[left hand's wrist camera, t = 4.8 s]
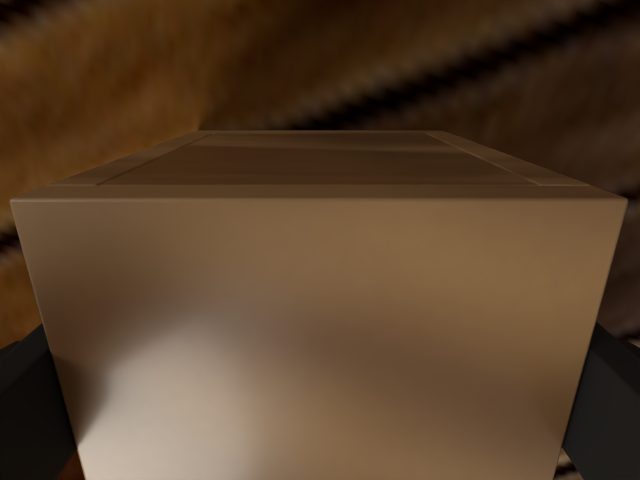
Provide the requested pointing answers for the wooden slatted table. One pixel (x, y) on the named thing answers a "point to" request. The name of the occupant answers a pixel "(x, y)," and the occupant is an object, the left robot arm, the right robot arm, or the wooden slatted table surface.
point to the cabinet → (319, 306)
